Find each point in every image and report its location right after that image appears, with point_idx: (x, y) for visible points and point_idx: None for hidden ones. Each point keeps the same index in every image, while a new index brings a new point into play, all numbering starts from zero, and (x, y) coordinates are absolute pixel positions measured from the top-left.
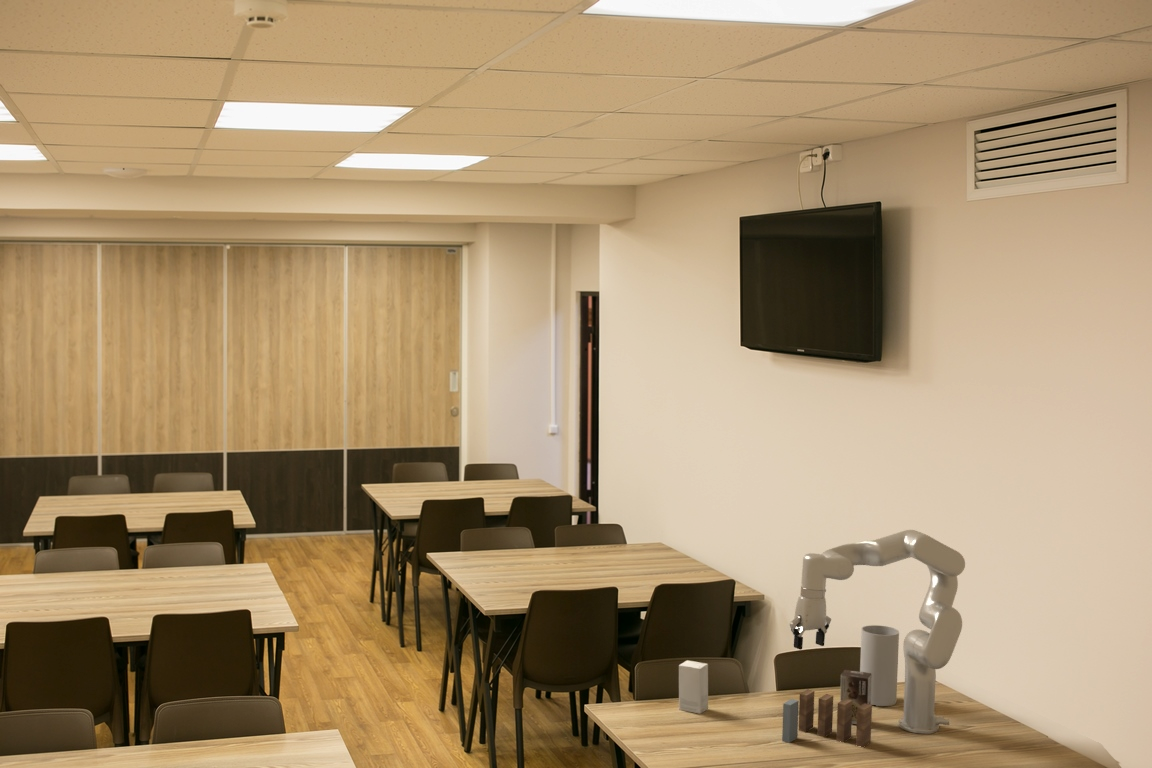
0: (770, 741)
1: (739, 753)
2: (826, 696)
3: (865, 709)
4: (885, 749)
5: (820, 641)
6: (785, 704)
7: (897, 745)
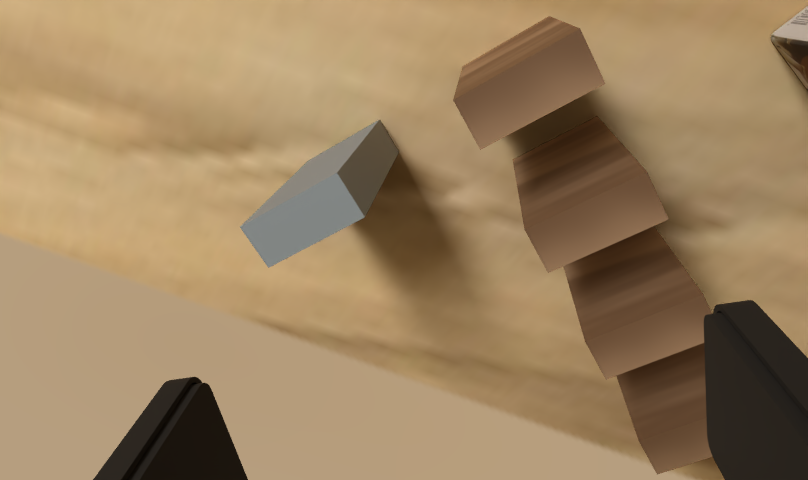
0: (253, 144)
1: (72, 212)
2: (606, 216)
3: (667, 470)
4: None
5: (733, 460)
6: (249, 238)
7: None
